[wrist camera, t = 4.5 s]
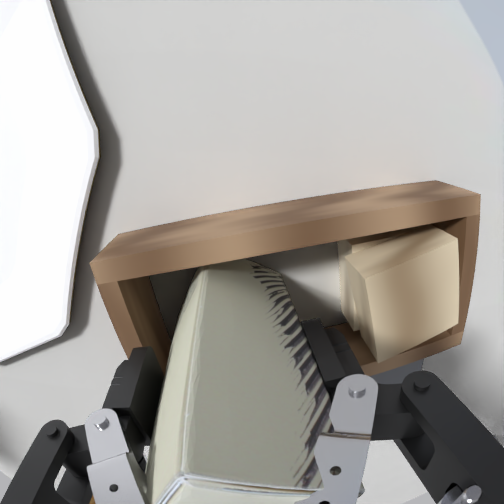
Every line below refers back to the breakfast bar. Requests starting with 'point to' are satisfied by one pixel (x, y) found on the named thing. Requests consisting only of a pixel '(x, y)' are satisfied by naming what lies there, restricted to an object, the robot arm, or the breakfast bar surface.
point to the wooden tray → (276, 240)
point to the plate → (40, 175)
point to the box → (238, 396)
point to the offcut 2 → (405, 289)
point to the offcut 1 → (346, 249)
